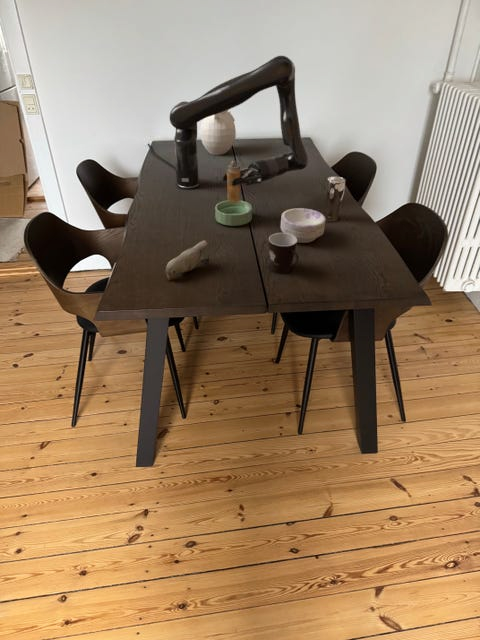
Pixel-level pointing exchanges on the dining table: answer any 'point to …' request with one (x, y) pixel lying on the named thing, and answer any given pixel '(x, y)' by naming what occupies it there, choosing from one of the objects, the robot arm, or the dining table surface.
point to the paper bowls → (303, 224)
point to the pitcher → (218, 132)
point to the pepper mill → (232, 173)
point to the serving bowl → (233, 213)
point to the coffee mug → (282, 252)
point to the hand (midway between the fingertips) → (228, 180)
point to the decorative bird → (186, 260)
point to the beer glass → (333, 197)
